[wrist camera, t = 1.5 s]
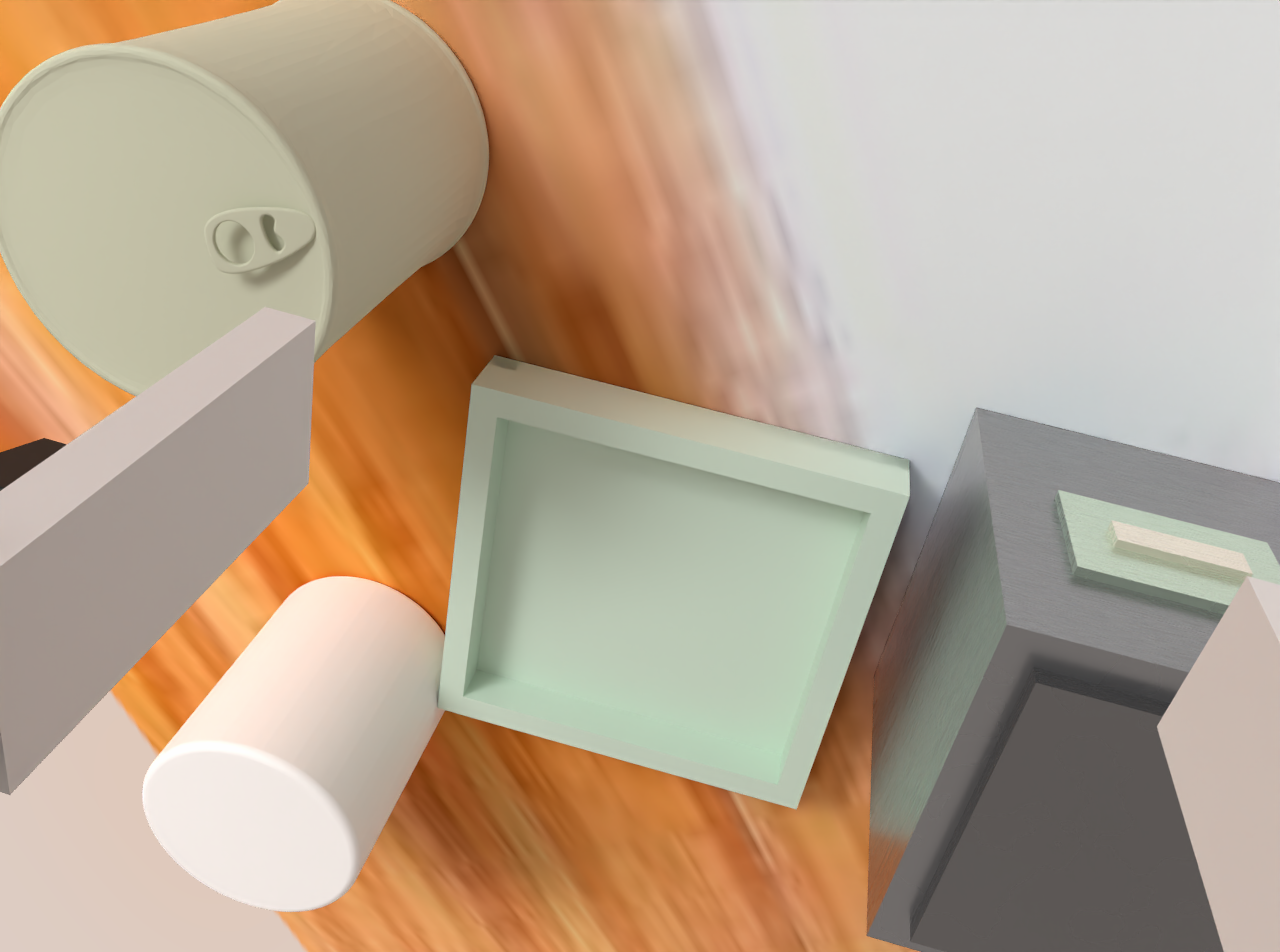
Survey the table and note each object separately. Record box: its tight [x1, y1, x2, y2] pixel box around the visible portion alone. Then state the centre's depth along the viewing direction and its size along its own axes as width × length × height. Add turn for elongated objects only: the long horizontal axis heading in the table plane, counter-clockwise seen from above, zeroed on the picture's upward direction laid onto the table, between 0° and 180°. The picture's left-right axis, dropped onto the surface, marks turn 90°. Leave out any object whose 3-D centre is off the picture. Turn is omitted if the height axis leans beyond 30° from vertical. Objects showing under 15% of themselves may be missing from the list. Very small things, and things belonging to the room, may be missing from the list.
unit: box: [867, 408, 1280, 952], centre depth 34 cm, size 12×10×13 cm
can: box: [0, 0, 489, 396], centre depth 31 cm, size 9×9×12 cm
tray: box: [437, 355, 910, 809], centre depth 41 cm, size 15×15×2 cm
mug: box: [142, 576, 445, 912], centre depth 44 cm, size 8×10×12 cm
